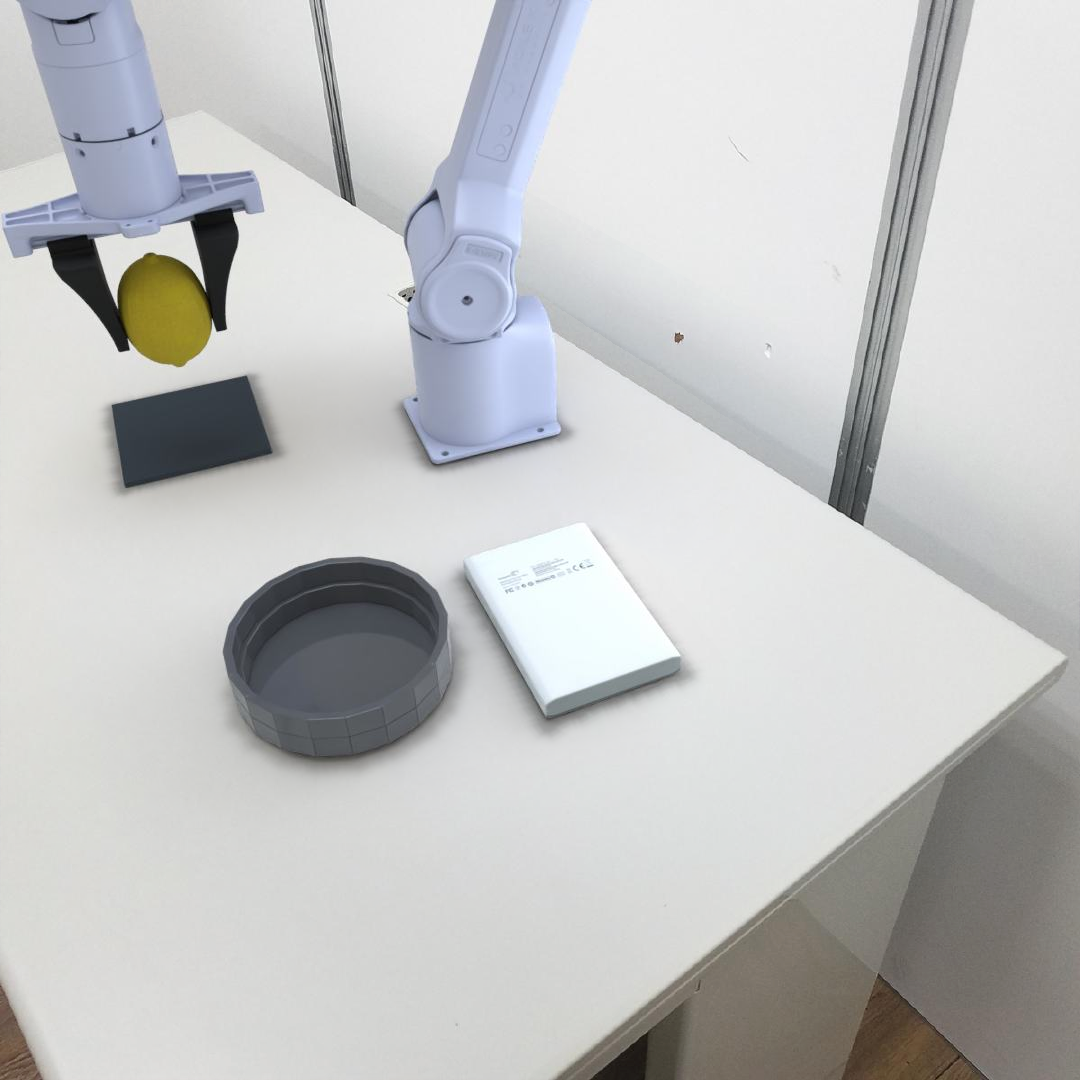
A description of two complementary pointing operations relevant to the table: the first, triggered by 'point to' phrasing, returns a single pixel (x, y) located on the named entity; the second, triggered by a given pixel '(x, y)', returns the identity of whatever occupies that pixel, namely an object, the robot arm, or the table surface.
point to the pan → (339, 655)
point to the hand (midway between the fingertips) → (171, 333)
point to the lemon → (164, 309)
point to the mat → (188, 430)
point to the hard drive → (570, 619)
